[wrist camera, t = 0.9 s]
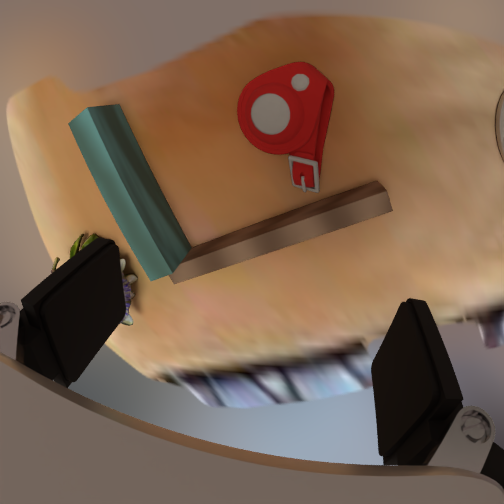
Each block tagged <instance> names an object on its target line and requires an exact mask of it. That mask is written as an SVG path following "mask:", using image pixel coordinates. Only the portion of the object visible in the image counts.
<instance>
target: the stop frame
mask: <svg viewBox="0 0 504 504" xmlns="http://www.w3.org/2000/svg"><path fill="white" fill-rule="evenodd" d="M68 124H69V126H70V129H71V131H72V133H73V135H74V138H75V140H76V142H77V144H78V146H79V149H80V151H81V153H82V155H83V157H84V159H85V162H86V164H87V166H88V168H89V170H90V172H91V174H92V176H93V178H94V180H95V182H96V184H97V186H98V188H99V190H100V192H101V194H102V196H103V198H104V200H105V202H106V203H107V205H108V207H109V209H110V211H111V213H112V215H113V217H114V218H115V220H116V222H117V224H118V226H119V228H120V229H121V231H122V233H123V235H124V237H125V238H126V240H127V242H128V244H129V245H130V247H131V249H132V251H133V252H134V254H135V256H136V257H137V259H138V261H139V262H140V264H141V266H142V267H143V269H144V271H145V272H146V274H147V276H148V277H149V279H150V281H153V280H156V279H159V278H161V277H164V276H167V275H169V277H170V278H171V280H172V282H173V283H174V284H177V283H180V282H183V281H186V280H189V279H192V278H195V277H198V276H201V275H204V274H207V273H210V272H213V271H216V270H219V269H222V268H225V267H228V266H231V265H234V264H237V263H240V262H243V261H246V260H249V259H252V258H255V257H258V256H261V255H264V254H267V253H270V252H273V251H276V250H279V249H282V248H285V247H288V246H291V245H294V244H297V243H300V242H302V241H305V240H308V239H311V238H314V237H317V236H320V235H323V234H326V233H329V232H332V231H335V230H338V229H341V228H344V227H347V226H350V225H353V224H356V223H359V222H362V221H364V220H367V219H370V218H373V217H376V216H379V215H382V214H385V213H388V212H391V211H393V210H392V206H391V203H390V199H389V196H388V193H387V190H386V189H385V188H384V187H383V186H382V185H381V184H380V183H379V182H378V181H375V182H372V183H369V184H366V185H363V186H360V187H358V188H355V189H352V190H349V191H346V192H343V193H340V194H337V195H335V196H332V197H329V198H326V199H323V200H320V201H318V202H315V203H312V204H309V205H306V206H304V207H301V208H298V209H295V210H292V211H290V212H287V213H284V214H281V215H279V216H276V217H273V218H270V219H268V220H265V221H262V222H259V223H257V224H254V225H251V226H249V227H246V228H243V229H241V230H238V231H235V232H233V233H230V234H227V235H225V236H222V237H219V238H217V239H214V240H211V241H209V242H206V243H203V244H201V245H198V246H196V247H193V248H191V246H190V244H189V242H188V240H187V238H186V236H185V235H184V233H183V231H182V229H181V227H180V225H179V223H178V222H177V220H176V218H175V216H174V214H173V212H172V210H171V208H170V206H169V204H168V203H167V201H166V199H165V197H164V195H163V193H162V191H161V189H160V187H159V185H158V183H157V181H156V179H155V177H154V175H153V173H152V171H151V169H150V167H149V165H148V163H147V161H146V159H145V157H144V155H143V153H142V151H141V149H140V147H139V145H138V143H137V141H136V139H135V137H134V135H133V133H132V131H131V128H130V126H129V124H128V122H127V120H126V118H125V116H124V114H123V111H122V109H121V107H120V105H119V104H117V105H106V106H96V107H87V108H86V109H85V110H83V111H82V112H81V113H80V114H79V115H78V116H76V117H75V118H74V119H73V120H72V121H71V122H70V123H68Z"/></svg>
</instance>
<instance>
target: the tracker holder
mask: <svg viewBox="0 0 504 504" xmlns="http://www.w3.org/2000/svg"><path fill="white" fill-rule="evenodd" d="M333 99H334V88H333V85H332V83H331V82H330V81H329V80H328V79H327V78H326V77H325V76H324V75H323V74H321V73H320V72H319V71H318V70H317V69H316V68H315V67H314V66H312V65H310V64H308V63H305V62H294V63H290V64H287V65H284V66H281V67H278V68H276V69H273V70H270V71H268V72H266V73H264V74H262V75H260V76H258V77H256V78H254V79H253V80H252V81H250V82H249V83H248V84H247V85H246V86H245V87H244V89H243V91H242V93H241V95H240V97H239V101H238V107H237V115H238V121H239V124H240V127H241V130H242V132H243V133H244V135H245V137H246V138H247V139H248V140H249V142H251V143H252V144H253V145H254V146H255V147H257V148H258V149H260V150H262V151H264V152H267V153H270V154H288V153H289V154H290V156H289V157H288V159H289V166H290V172H291V178H292V185H293V186H294V187H298V188H302V189H303V192H306V190H309V191H312V192H316V193H318V192H319V191H320V190H319V177H320V172H321V163H322V155H323V147H324V142H325V138H326V133H327V128H328V124H329V119H330V114H331V109H332V104H333Z"/></svg>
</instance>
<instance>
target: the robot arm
mask: <svg viewBox="0 0 504 504" xmlns="http://www.w3.org/2000/svg"><path fill="white" fill-rule="evenodd" d="M496 135H497V141H498V146H499V149H500V153H501V156H502V158H503V160H504V93H503V94H502V96H501V98H500V101H499V104H498V108H497V113H496ZM21 302H22V305H23V309H22V310H21V311H20V309H19V308H18V306H17V305H15V304H14V303H10V302H3V303H0V504H504V450H503V449H502V448H500V447H499V446H498V445H497V444H496V443H494V442H493V441H494V437H495V426H494V423H493V421H492V419H491V417H490V416H489V415H488V414H487V413H486V412H485V411H484V410H483V409H481V408H479V407H475V406H466V407H464V408H463V405H462V402H461V401H462V400H463V396H462V393H461V390H460V387H459V384H458V381H457V378H456V375H455V372H454V370H453V367H452V364H451V361H450V358H449V356H448V353H447V351H446V348H445V346H444V343H443V341H442V338H441V335H440V333H439V331H438V328H437V326H436V323H435V321H434V319H433V316H432V314H431V312H430V309H429V307H428V305H427V303H426V301H423V300H417V299H411V298H409V299H407V301H406V302H402V303H401V304H400V306H399V308H398V311H397V313H396V315H395V317H394V319H393V322H392V324H391V326H390V328H389V330H388V332H387V334H386V336H385V338H384V340H383V342H382V344H381V346H380V349H379V350H378V352H377V354H376V356H375V358H374V360H373V362H372V367H371V373H372V382H373V390H374V400H375V410H376V422H377V435H378V450H379V455H380V456H383V463H384V465H357V464H343V463H329V462H319V461H310V460H301V459H294V458H286V457H280V456H274V455H268V454H262V453H258V452H252V451H248V450H243V449H238V448H233V447H229V446H225V445H221V444H217V443H212V442H209V441H205V440H201V439H197V438H194V437H191V436H187V435H184V434H181V433H177V432H174V431H171V430H168V429H165V428H162V427H159V426H156V425H153V424H150V423H147V422H145V421H142V420H139V419H136V418H134V417H131V416H129V415H126V414H124V413H121V412H119V411H116V410H114V409H111V408H109V407H106V406H104V405H101V404H100V403H97V402H95V401H93V400H90V399H88V398H86V397H84V396H82V395H80V394H78V393H76V392H74V391H72V390H70V389H68V387H69V385H70V384H71V383H72V382H75V381H77V379H78V378H79V377H80V375H81V374H82V373H83V371H84V370H85V368H86V367H87V366H88V364H89V363H90V362H91V360H92V359H93V358H94V356H95V355H96V354H97V352H98V351H99V350H100V348H101V347H102V346H103V344H104V343H105V342H106V340H107V339H108V338H109V336H110V335H111V334H112V333H113V331H114V330H115V329H116V327H117V326H118V325H119V324H120V322H121V321H122V320H123V318H124V317H125V314H126V303H125V296H124V289H123V281H122V272H121V263H120V253H119V248H118V246H117V245H116V244H115V242H114V241H113V240H110V239H105V238H101V237H98V238H96V239H95V240H94V241H92V242H91V243H90V244H88V245H87V246H86V247H84V248H83V249H82V250H80V251H79V252H78V253H77V254H75V255H74V256H73V257H71V258H70V259H69V260H68V261H66V262H65V263H64V264H63V265H61V266H60V267H59V268H58V269H57V270H55V271H54V272H53V273H52V274H50V275H49V276H48V277H47V278H46V279H44V280H43V281H42V282H41V283H40V284H39V285H37V286H36V287H35V288H34V289H33V290H32V291H30V292H29V293H28V294H27V295H26V296H25V297H24V298H23V299H21ZM53 379H54V381H55V382H54V381H53ZM388 465H398V466H388Z"/></svg>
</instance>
